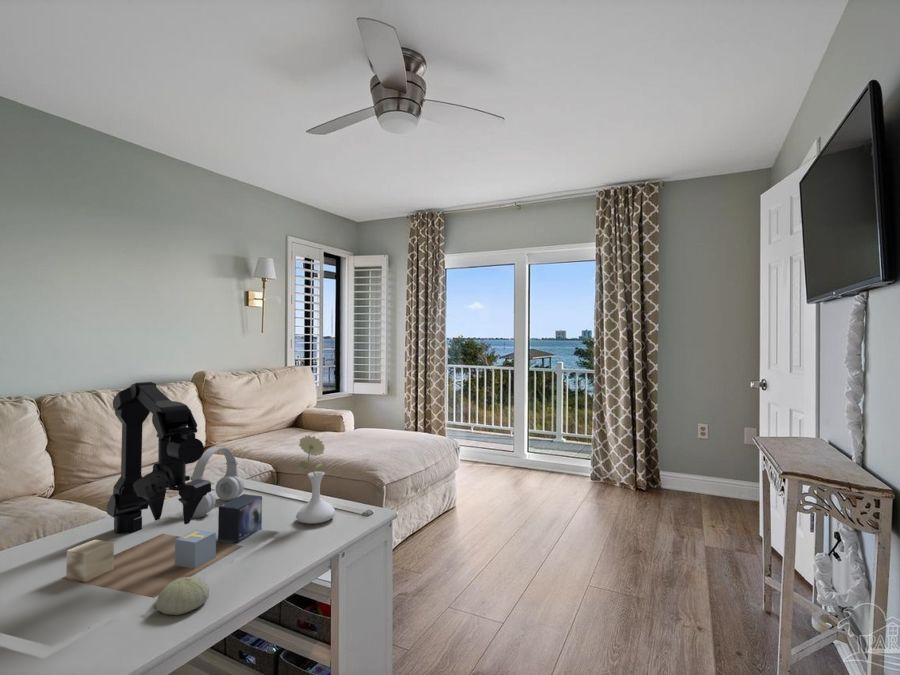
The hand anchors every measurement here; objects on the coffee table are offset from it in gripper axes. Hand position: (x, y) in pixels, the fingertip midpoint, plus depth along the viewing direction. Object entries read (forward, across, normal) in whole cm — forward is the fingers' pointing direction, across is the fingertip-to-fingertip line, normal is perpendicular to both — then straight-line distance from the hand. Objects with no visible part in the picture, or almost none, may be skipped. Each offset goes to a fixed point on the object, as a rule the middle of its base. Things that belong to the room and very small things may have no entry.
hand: (172, 521), depth 111 cm
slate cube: (+2, +7, 0) cm, 8 cm away
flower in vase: (+10, +17, +34) cm, 39 cm away
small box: (+10, +6, +16) cm, 20 cm away
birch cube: (+8, -11, -12) cm, 18 cm away
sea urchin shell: (+10, +18, -13) cm, 25 cm away
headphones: (+10, -20, +34) cm, 40 cm away
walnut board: (+10, -1, -2) cm, 10 cm away
